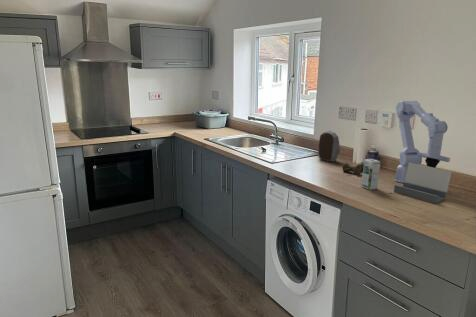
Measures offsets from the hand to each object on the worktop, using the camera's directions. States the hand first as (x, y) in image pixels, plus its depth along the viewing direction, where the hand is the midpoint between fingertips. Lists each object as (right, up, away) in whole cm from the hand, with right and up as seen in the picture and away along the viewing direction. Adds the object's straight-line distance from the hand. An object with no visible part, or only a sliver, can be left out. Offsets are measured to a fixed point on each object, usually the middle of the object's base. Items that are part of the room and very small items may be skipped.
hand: (430, 173), depth 177 cm
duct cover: (-3, -1, -2) cm, 4 cm away
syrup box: (-28, -8, +7) cm, 30 cm away
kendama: (-26, -1, +36) cm, 44 cm away
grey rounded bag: (-35, +6, +63) cm, 72 cm away
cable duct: (-8, -10, -3) cm, 13 cm away
